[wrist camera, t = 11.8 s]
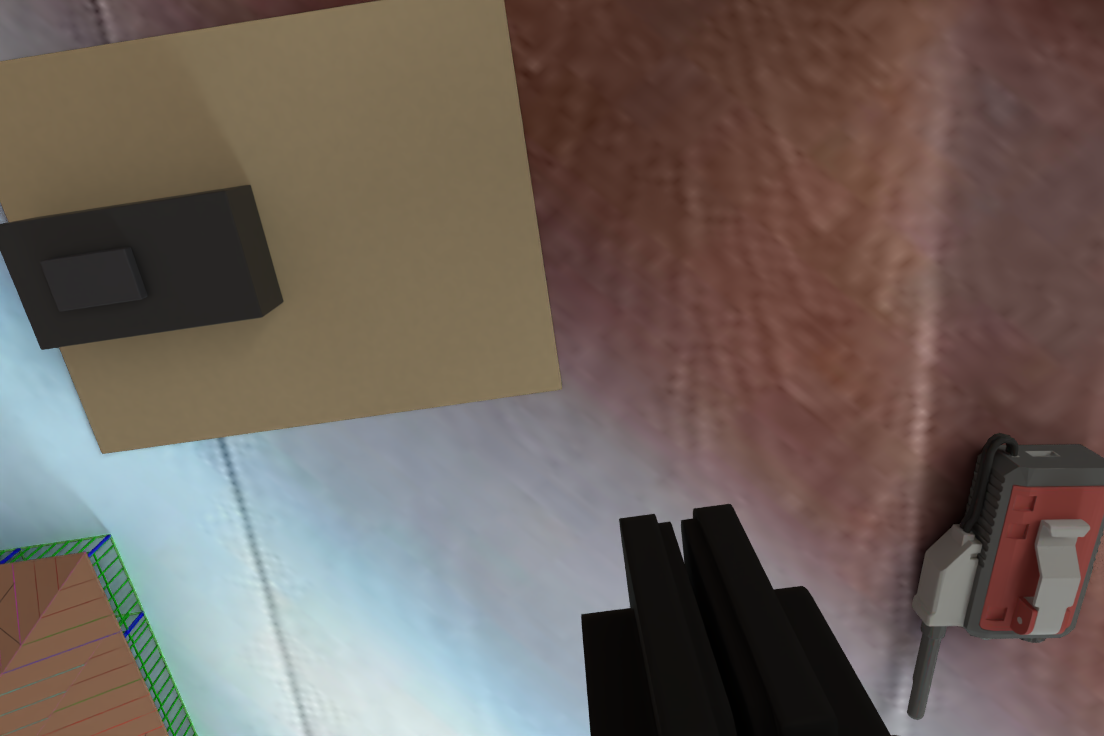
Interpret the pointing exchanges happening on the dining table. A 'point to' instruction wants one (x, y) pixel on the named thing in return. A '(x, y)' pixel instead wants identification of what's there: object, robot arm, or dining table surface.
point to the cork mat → (305, 212)
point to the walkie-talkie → (1013, 551)
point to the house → (72, 651)
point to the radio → (142, 267)
